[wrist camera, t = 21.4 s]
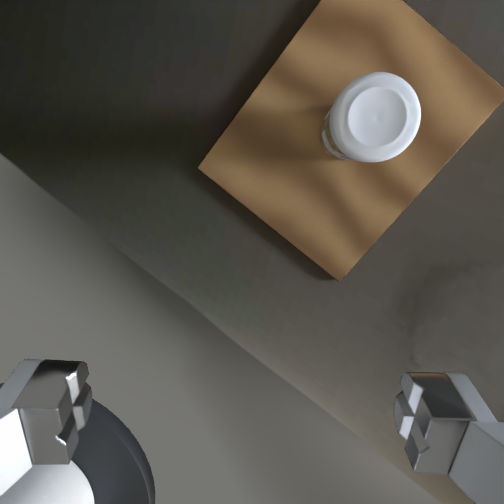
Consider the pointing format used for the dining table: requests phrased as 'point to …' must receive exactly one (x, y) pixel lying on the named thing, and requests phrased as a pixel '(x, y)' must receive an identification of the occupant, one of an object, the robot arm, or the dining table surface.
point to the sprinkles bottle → (371, 119)
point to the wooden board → (315, 109)
